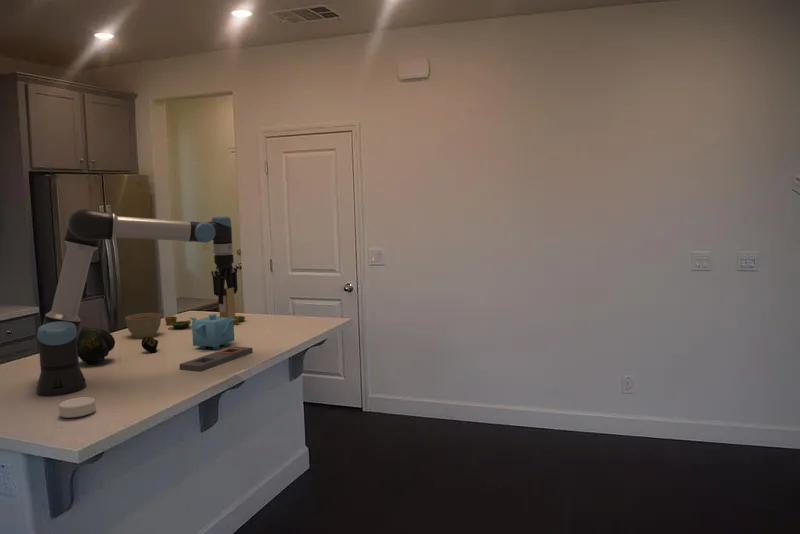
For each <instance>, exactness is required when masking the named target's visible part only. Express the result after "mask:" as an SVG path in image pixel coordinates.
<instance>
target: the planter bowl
mask: <svg viewBox="0 0 800 534" xmlns="http://www.w3.org/2000/svg"><path fill="white" fill-rule="evenodd" d="M161 318H162V314H161V313H157V312H145V313H137V314H130V315H128V316H125V318H124V320H125V324H126V327H127V329H128V332H130V334H131V335H132V336H133V338H134V339H142V340H143V339H144V338H145V337H148V336H149V337H152V338H154V337H155V336H156V334H157V332H158V331H159V329H160V327H161V321H162V320H161Z"/></svg>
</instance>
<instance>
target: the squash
mask: <svg viewBox="0 0 800 534" xmlns="http://www.w3.org/2000/svg"><path fill="white" fill-rule="evenodd" d="M115 344H116V340H115V338H114V336H113V335H112V334H111V333H110V332H109V331H107V330H105V329H103V328H97V327H96V328H95V327H88V326H87V327H86V326H84V327H82V328H81V330H80V331H79V332H78V335H77V346H78V359H79V360H81V361H82V362H83V363H86V364H89V365H92V364H96V363H101V362H103V361H104V360H105V358H107V357H108V355H109V353H110V352H111V351H112V350H113V349H114V348H115V346H116V345H115Z"/></svg>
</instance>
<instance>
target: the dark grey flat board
mask: <svg viewBox="0 0 800 534" xmlns="http://www.w3.org/2000/svg"><path fill="white" fill-rule="evenodd" d="M253 349H254V348H253V347H248V346H247V347H246V346H235V345H233V346H230V347H227V348H224V349H221V350H218V351H215V352H212V353H209V354H205V355H203V356H199V357H197V358H194V359H191V360H188V361H185V362H182V363H179V370H182V371H183V370H185V371H192V372H193V371H194V372H202V371H205V370H208V369H210V368H213V367H216V366H219V365H221V364H224V363H227V362H230V361H232V360H233V361H234V360H235V359H238V358H241V357H243V356H247V355H249V354H251V353H253Z"/></svg>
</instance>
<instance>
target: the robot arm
mask: <svg viewBox="0 0 800 534" xmlns="http://www.w3.org/2000/svg"><path fill="white" fill-rule="evenodd" d="M232 231H233V230H232V221H231V217H230V216H226V215H223V216H212V217H211V221H204V222H203V221H189V220H188V221H187V220H186V221H185V220H176V219H175V220H174V219H162V218H149V217H137V216H136V217H133V216H121V215H116V214H115V213H114V212H107V211H100V210H96V209H93V208H89V207H88V208H79V209H77V210H75V211H73V212H72V213H71V214H70V216H69V217H68V219H67V227H66V231H65V234H64V239H63V242H64V243H65V245H66V251H65V254H64V259H63V262H62V266H61V270H60V274H59V277H58V283H57V286H56V289H55V290H56V291H55V293H54V298H53V303H52V306H51V309H50V311H49V312H47V313H45V315H44V319H43V322H42V325H41V326H39V327H38V329H37V335H36V337H37V341H38V354H39V363H40V364H39V365H40V374H39V377H38V381H37V386H36V388H35V389H36V390H35V391H36V395H38V396H39V397H59V396H67V395H70V394H71V395H72V394H74V393H77V392H81V391H83V390H85V389H86V388H87V381H86V379H85V377H84V375H83V372H82V369H81V368H80V362H79V361H80V358H79V356H78V346H77V340H78V335H79V329H80V325H81V322H82V321H81V318H80V317H79V315H78V314H79V310H80V306H81V301H82V298H83V293H84V290H85V286H86V282H87V277H88V274H89V270H90V265H91V262H92V257H93V253H94V252H95V251H97V250H98V249H99V247H100V244H101V240H107V241H108V240H109V241H110V240H112V241H113V240H114V239H116V238H125V239H126V238H127V239H141V240H143V239H144V240H158V241H159V240H161V241H175V242H176V241H179V242H190V243H191V242H196V243H204V244H205V243H207V244H208V243H209V242H211V241H213V243H212V244H213V254H214V256H213V259H214V260H213V261H214V264H215V265H216V268H215V270H212V271H211V273H210V274H211V276H212V284H213V285H212V286H213V295H214V296H216V297H218V298H217V299H218V307H219V306H220V312H226V300H225V296H224V287H234V295H235V294H237V292H238V275H237V274H238V267H234V266H233V263H234V254H233V252H234V250H233V249H234V248H233V233H232ZM225 284H226V286H225ZM220 312H219V313H220Z"/></svg>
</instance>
